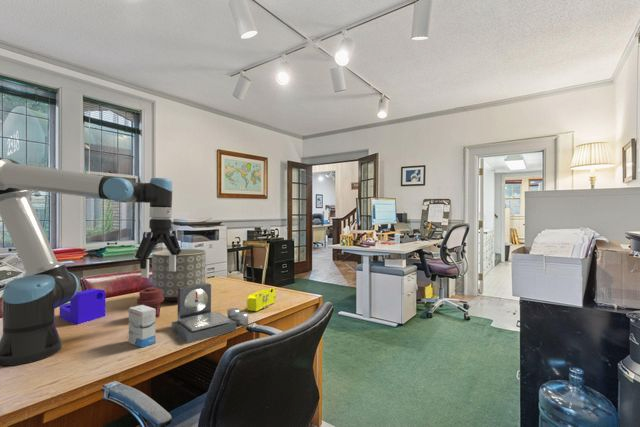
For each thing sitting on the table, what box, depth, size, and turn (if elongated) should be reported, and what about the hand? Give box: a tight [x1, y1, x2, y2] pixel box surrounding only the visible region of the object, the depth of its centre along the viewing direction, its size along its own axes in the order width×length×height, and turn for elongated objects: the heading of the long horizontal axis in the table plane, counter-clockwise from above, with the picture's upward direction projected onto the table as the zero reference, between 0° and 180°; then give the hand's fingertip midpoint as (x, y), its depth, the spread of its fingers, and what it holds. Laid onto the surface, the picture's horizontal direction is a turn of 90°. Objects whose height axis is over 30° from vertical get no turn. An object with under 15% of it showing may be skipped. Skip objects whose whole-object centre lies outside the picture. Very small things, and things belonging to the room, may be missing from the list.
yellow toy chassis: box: [246, 287, 276, 312], centre depth 146 cm, size 16×6×8 cm, turn 156°
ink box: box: [128, 305, 156, 348], centre depth 105 cm, size 8×5×12 cm, turn 58°
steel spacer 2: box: [235, 311, 249, 327], centre depth 124 cm, size 5×5×4 cm
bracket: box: [59, 288, 107, 325], centre depth 130 cm, size 18×11×12 cm, turn 71°
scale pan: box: [179, 310, 230, 331], centre depth 116 cm, size 14×13×1 cm
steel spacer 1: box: [226, 307, 241, 321], centre depth 129 cm, size 5×5×4 cm
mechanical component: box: [136, 286, 165, 319], centre depth 130 cm, size 12×10×10 cm
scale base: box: [171, 282, 237, 344], centre depth 117 cm, size 18×19×15 cm
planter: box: [151, 248, 207, 302], centre depth 160 cm, size 25×25×24 cm
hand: (159, 274), depth 119 cm, fingers open, 13 cm apart
